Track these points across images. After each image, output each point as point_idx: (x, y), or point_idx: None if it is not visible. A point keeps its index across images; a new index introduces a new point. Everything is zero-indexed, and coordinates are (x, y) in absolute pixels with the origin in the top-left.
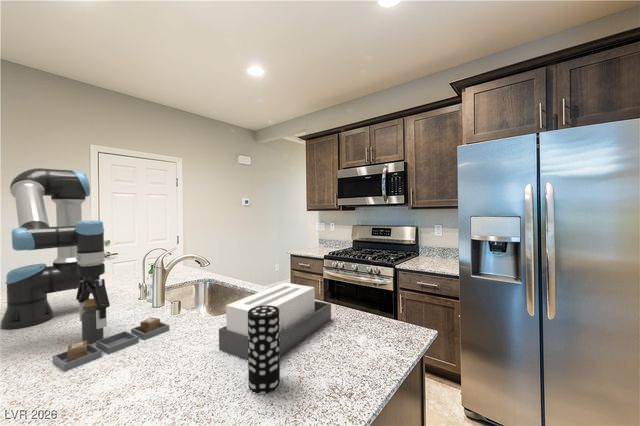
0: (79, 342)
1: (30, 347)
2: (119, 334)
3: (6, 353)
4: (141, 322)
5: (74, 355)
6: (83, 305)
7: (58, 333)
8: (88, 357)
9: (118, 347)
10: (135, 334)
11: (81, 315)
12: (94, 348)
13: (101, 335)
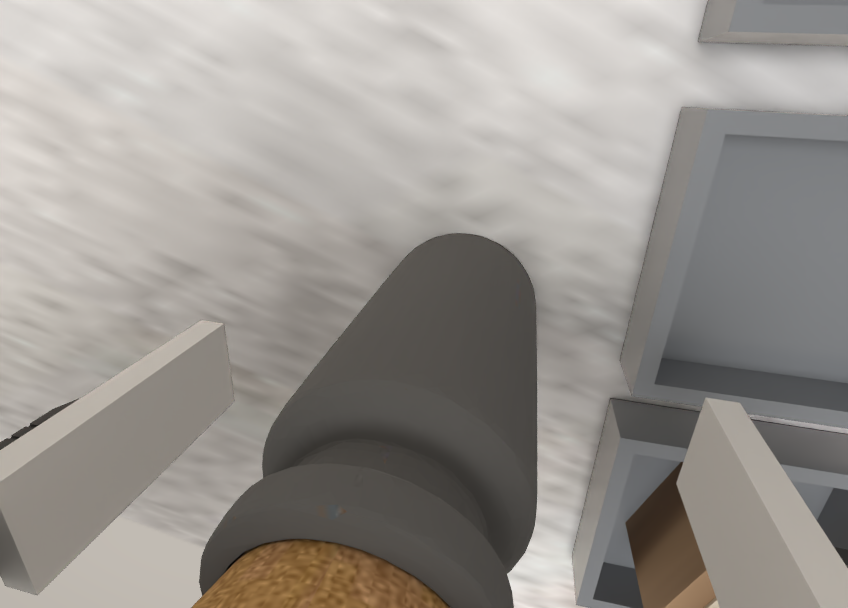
0: (700, 585)
1: (197, 477)
2: (704, 194)
3: (189, 540)
4: None
5: None
6: (70, 517)
7: (71, 321)
8: None
9: None
10: (840, 42)
11: (189, 434)
12: None
13: (526, 293)
